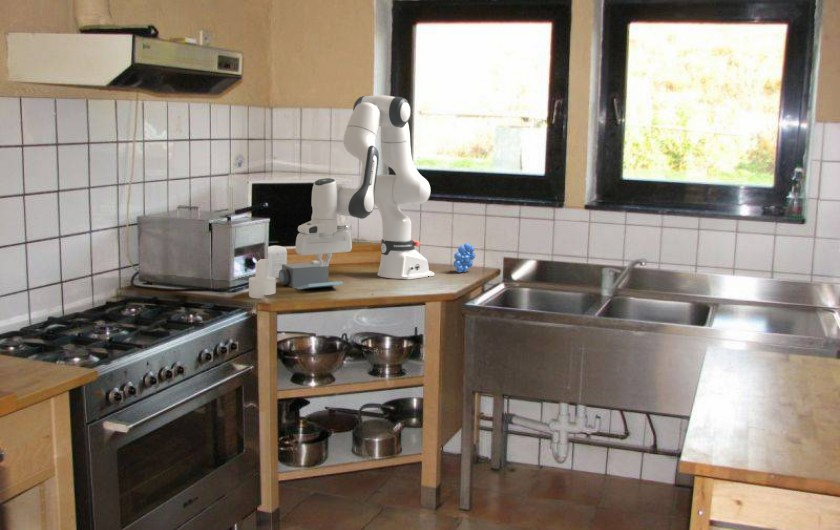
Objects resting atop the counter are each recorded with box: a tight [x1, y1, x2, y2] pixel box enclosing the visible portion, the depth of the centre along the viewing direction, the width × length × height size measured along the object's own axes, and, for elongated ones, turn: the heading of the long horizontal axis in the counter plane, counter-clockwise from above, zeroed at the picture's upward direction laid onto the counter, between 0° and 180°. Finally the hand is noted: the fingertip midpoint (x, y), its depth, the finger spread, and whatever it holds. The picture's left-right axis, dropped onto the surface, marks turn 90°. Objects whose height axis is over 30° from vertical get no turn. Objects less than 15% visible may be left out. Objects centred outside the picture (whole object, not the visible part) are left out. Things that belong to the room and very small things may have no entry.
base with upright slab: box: [248, 258, 277, 299], centre depth 313 cm, size 9×9×12 cm
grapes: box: [453, 242, 476, 273], centre depth 371 cm, size 12×7×12 cm, turn 133°
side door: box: [295, 280, 344, 290], centre depth 323 cm, size 13×1×12 cm
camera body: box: [278, 260, 330, 288], centre depth 331 cm, size 16×9×9 cm, turn 123°
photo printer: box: [267, 245, 288, 279], centre depth 346 cm, size 10×4×12 cm, turn 134°
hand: (324, 266), depth 319 cm, fingers closed
